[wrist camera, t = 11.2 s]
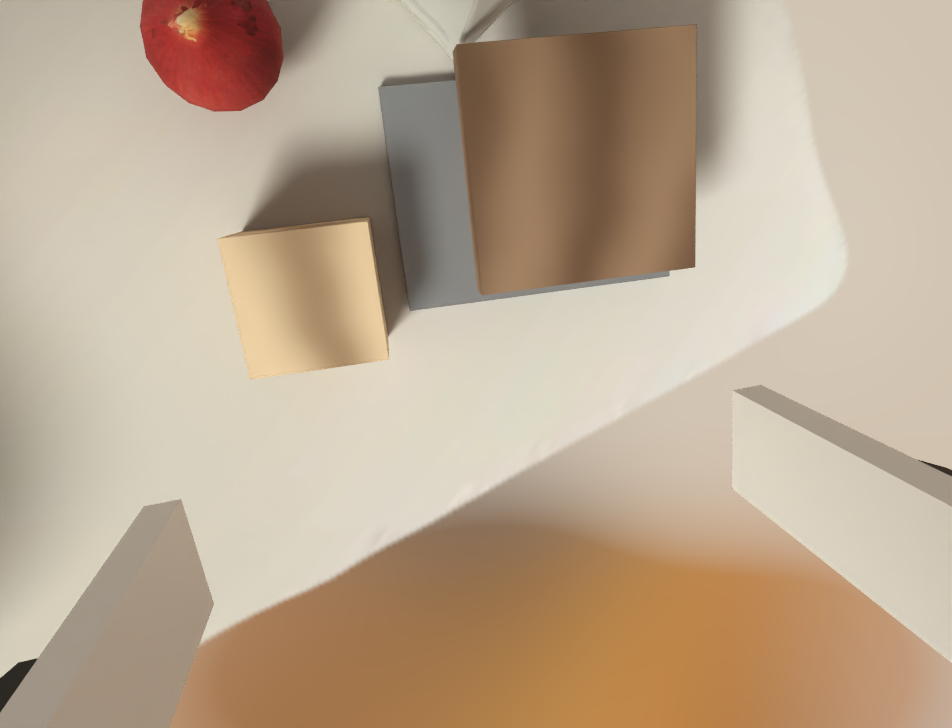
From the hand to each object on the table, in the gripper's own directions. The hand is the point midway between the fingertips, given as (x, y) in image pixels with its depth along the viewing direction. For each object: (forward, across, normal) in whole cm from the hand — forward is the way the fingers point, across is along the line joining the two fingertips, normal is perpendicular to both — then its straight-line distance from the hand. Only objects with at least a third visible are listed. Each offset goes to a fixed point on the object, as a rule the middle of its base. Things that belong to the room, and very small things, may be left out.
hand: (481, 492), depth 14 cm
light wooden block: (+22, -5, +2) cm, 23 cm away
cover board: (+17, +9, +7) cm, 20 cm away
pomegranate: (+23, -7, +14) cm, 28 cm away
